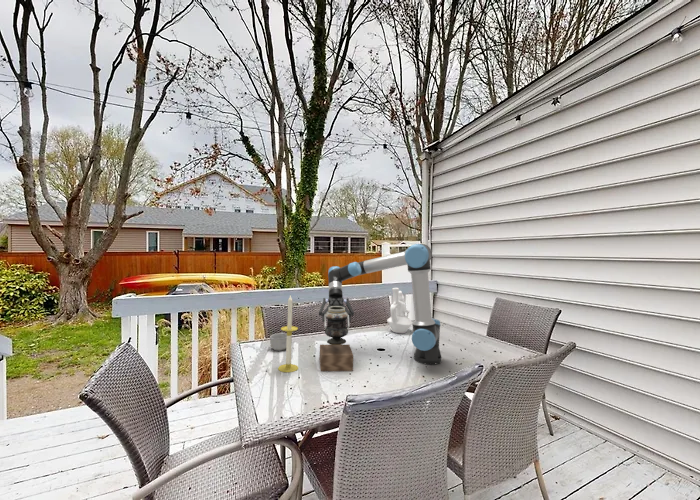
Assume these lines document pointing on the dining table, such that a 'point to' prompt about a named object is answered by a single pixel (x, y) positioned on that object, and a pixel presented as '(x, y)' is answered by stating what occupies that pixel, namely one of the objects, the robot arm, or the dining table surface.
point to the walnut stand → (336, 358)
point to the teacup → (278, 341)
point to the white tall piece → (399, 313)
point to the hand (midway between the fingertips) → (336, 327)
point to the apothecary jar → (336, 325)
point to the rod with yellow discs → (289, 341)
